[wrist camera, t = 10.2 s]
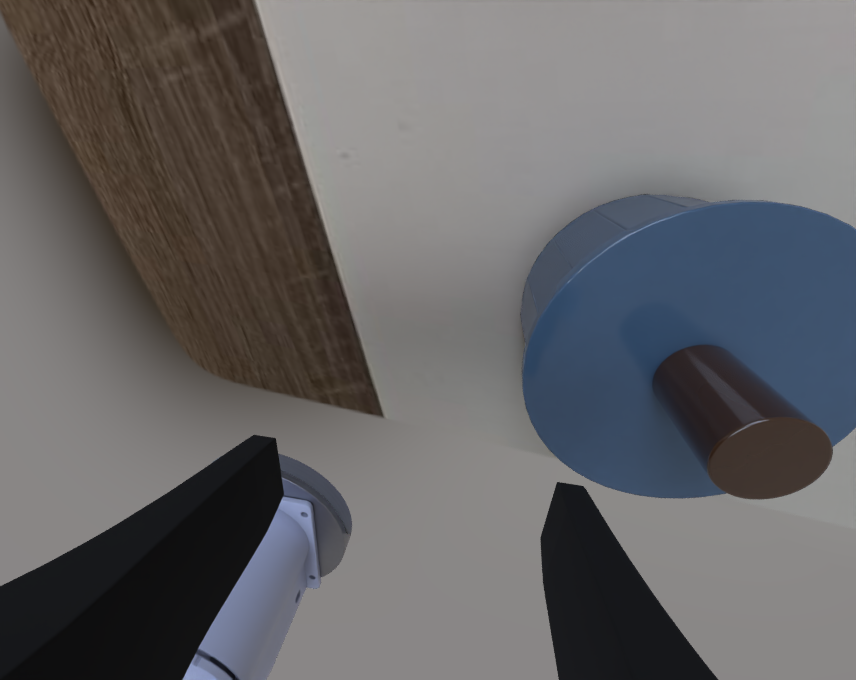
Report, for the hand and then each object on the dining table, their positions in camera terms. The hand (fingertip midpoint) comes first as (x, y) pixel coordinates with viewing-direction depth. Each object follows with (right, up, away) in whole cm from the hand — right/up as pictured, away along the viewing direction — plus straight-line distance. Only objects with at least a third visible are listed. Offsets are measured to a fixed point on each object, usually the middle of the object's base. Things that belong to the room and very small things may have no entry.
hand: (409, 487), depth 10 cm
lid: (+9, +3, +2) cm, 9 cm away
